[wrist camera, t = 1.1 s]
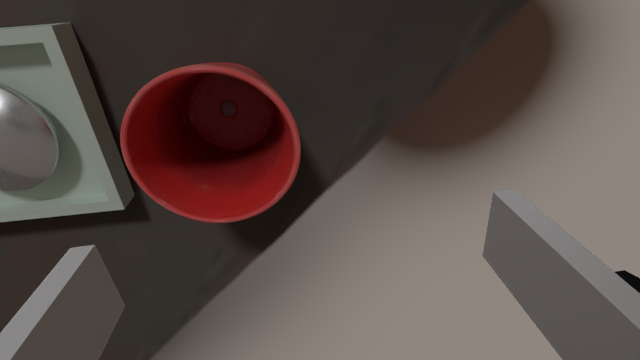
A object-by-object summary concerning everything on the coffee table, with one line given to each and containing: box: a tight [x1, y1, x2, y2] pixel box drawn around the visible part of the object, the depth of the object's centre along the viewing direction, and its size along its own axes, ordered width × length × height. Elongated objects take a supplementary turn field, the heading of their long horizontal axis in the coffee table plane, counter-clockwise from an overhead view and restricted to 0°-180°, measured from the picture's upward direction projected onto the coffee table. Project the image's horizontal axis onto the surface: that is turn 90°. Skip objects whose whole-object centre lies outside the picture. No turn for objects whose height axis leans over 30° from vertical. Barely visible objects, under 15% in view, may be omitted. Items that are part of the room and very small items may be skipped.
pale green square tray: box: [0, 22, 135, 222], centre depth 28 cm, size 15×15×2 cm
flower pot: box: [120, 62, 301, 223], centre depth 26 cm, size 11×11×10 cm
